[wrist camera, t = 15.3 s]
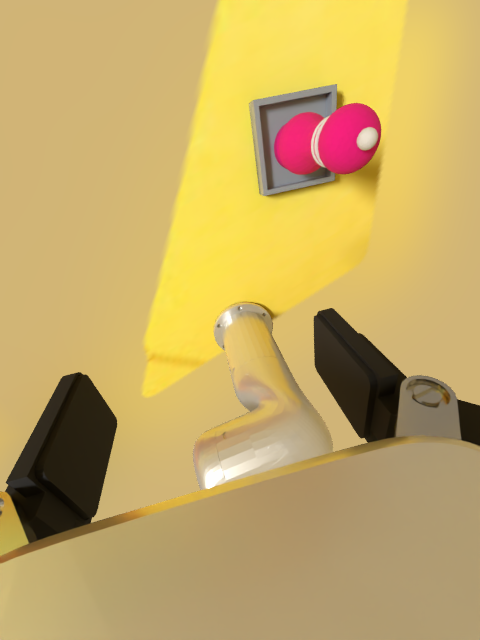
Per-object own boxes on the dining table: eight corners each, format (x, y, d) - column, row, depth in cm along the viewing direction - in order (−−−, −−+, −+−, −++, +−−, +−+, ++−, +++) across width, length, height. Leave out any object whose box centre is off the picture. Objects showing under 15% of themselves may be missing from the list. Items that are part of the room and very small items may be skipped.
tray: (327, 179, 45) (334, 180, 43) (259, 194, 44) (263, 195, 42) (328, 88, 38) (336, 84, 36) (249, 103, 37) (253, 100, 35)
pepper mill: (262, 159, 41) (319, 160, 24) (285, 105, 38) (369, 64, 21) (300, 181, 43) (375, 197, 27) (324, 132, 40) (427, 115, 24)
